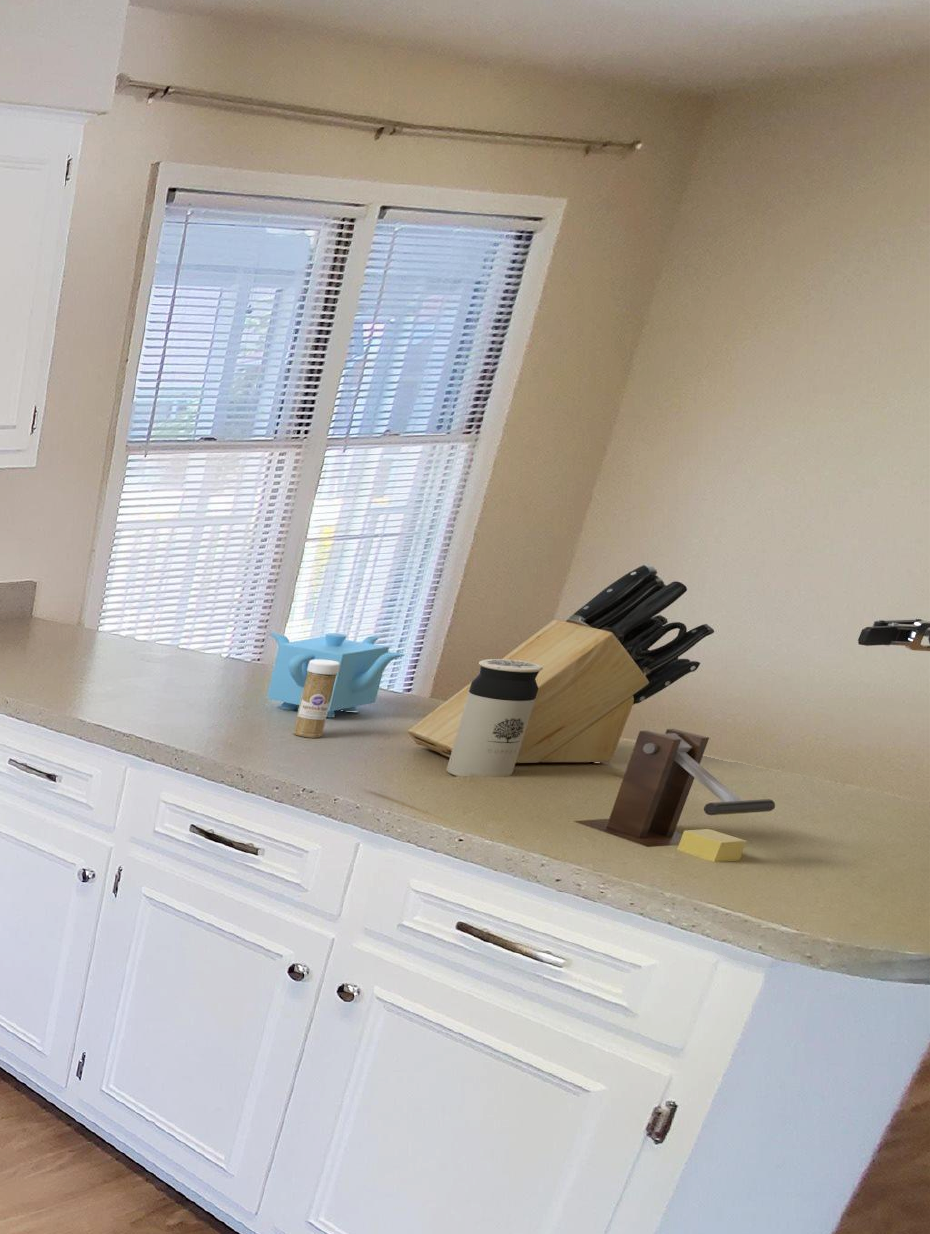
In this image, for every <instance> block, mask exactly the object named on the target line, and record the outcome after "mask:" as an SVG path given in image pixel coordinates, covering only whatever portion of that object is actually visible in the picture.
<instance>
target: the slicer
mask: <svg viewBox="0 0 930 1234" xmlns="http://www.w3.org/2000/svg"><path fill="white" fill-rule="evenodd" d="M670 733H676V734H677V735H678V736H679V737H681V738H682V739H683V740H684V741H685V742H686V743H688V744H689V745H690V746H691V747H692V748H691V749H690V750H689V751H688V752H687V754H688V755H689V756H690V757H691V758H692V759H694V760H695V761H696V762H697V763H698V764H699V765H701V762H702V759H703V756H704V753H705V751H706V749H707V745H708V743H709V741H710V737H708V736H705V735H701V734H696V733H693V732H689V731H684V730H680V729H675V728H667V729H666V730H665V733H664V734H670ZM662 734H663V733H658V732H654V731H650V730H639V732H638V735H637V738H636V741H635V744H634V746H633V749H632V752H631V755H630V758H629V761H628V764H627V767H626V770H625V773H624V775H623V778H622V780H621V783H620V786H619V789H618V793H617V795H616V798H615V801H614V804H613V807H612V810H611V813H610V816H609V818H601V819H585V820H584V819H583V820H573V822H574V823H577V824H579V825H583V826H585V827H588V828H591V829H594V830H597V831H599V832H603V833H606V834H607V835H608V834H609V835H612V836H614V837H617V838H620V839H623V840H626V841H629V842H631V843H635V844H636V845H639V846H643V847H645V848H651V847H652V848H654V847H668V846H679V843H680V840H681V838H682V835H683V833H681V832H678V831H676V829H677V827H678V824H679V821H680V818H681V815H682V813H683V811H684V808H685V804H686V802H687V799H688V798H689V797H688V796H689V793H690V791H691V788H692V786H693V784H694V780H695V779H696V778H695V777H693V776H692V775H691V774H690V773H689V772H688V771H686V770H685V769H684V768H683V767H682V766H681V765H679V764H678V763H677V762H676V761H674V758H675V756H676V753H677V750H678V747H679V744H680V742H681V739H678V738H674V737H670V736H666V735H662Z"/></svg>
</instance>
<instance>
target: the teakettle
mask: <svg viewBox="0 0 930 1234" xmlns="http://www.w3.org/2000/svg"><path fill="white" fill-rule="evenodd" d="M268 635H270V636H271V637H272V638H274V640H275V641H276V642H277V645H278V647H277V650H276V656H275V660H274V664H273V668H272V669H273V670H272V674H271V678H270V683H269V688H268V692H267V697H266V698H267V699H269V700H273V701H278V702H283V703H282V704H281V705H279V706H278V708H279V709H283V710H287V711H288V710H290V711H294V710H295V711H296V710H298V709H299V704H300V700H301V696H302V692H303V688H304V686H305V682H306V677H307V672H308V671H307V668H308V664H309V661H310V660H315V659H323V660H332V661H336V662H339V663H340V667H339V672H338V674H337V676H336V679H335V682H334V687H333V693H332V697H331V701H330V705H329V709H328V713H327V717H333V716H335V717H336V715H335V714H336V713H335V711H338V710H339V711H340V710H343V711H358V709H357V707H360V706H364V705H369V704H374V703H376V701H377V697H378V692H379V689H380V685H381V681H382V678H383V673H384V671H385V669H386V668H387V666H388V665H389V664H390V663H391V661H393V660H395V659H397V658H401V657H405V656H406V654H405V653H400V652H399V653H398V652H389V649H390V647H389V646H387V645H380V644H375V643H376V642H377V640H379V639H380V636H378V635H372V636H368V637H365V638H364V639H363V640H362V641H356V640H348V639H347V637H348V635H346V634H343V633H337V632H333V633H332V632H329V633H325V634H324V636H319V637H314V638H313V637H312V638H307V639H301V640H294V641H290V640H289V638H288V637H287V636H286V635H284V634H280V633H275V632H269V633H268Z"/></svg>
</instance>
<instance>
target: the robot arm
mask: <svg viewBox="0 0 930 1234" xmlns="http://www.w3.org/2000/svg"><path fill="white" fill-rule="evenodd" d="M924 637H927V639H928V644H929V645H927V644H925V645H924V644H922V641H923V639H924ZM857 641H858V643H857V644H858V645H860V646H865V647H866V646H867V647H868V646H870V647H871V646H887V647H888V646H889V647H890V646H902V647H905V648H906V649H909V650H911V651H919V652H920V651H922V652H930V620H923V619H920V618H915V619H896V620H895V619H893V620H883V619H879V620H874V621H873V623H872V626H866V627H864V628H862V629H861V631H860V633H859V636H858V638H857Z"/></svg>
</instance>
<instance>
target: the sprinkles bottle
mask: <svg viewBox="0 0 930 1234" xmlns="http://www.w3.org/2000/svg"><path fill="white" fill-rule="evenodd" d="M339 667H340V663H339V662H336V661H332V660H323V659H315V660H310V661H309V664H308V668H307V671H308V672H307V677H306V682H305V686H304V688H303V692H302V696H301V700H300V704H299V706H298V708H297V714H296V715H297V716H296V721H295V725H294V729H293V730H292V734H293V735H295V736H298V737H302V738H311V739H317V738H321V737H323V735H324V727H325V724H326V719H327V718H326V717H327V713H328V709H329V705H330V701H331V697H332V693H333V687H334V682H335V679H336V676H337V674H338V672H339Z"/></svg>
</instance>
